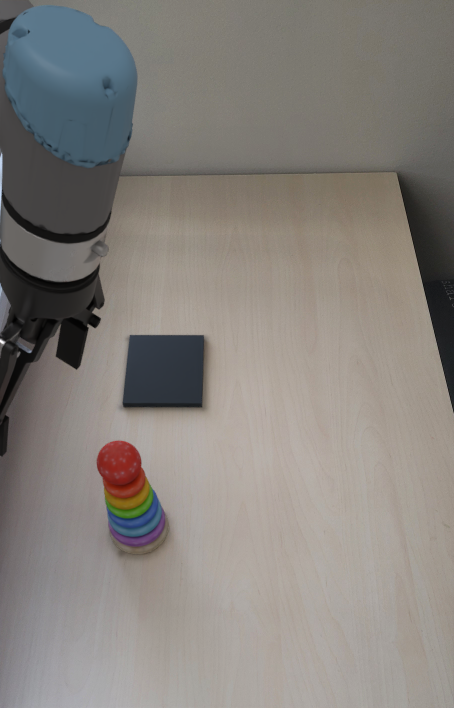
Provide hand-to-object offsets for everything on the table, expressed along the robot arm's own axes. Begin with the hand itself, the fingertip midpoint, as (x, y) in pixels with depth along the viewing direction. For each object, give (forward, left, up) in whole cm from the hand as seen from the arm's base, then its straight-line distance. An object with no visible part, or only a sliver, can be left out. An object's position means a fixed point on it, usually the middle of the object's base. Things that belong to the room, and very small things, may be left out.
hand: (32, 402), depth 67 cm
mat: (+11, +26, -24) cm, 37 cm away
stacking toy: (+9, -2, -24) cm, 26 cm away
